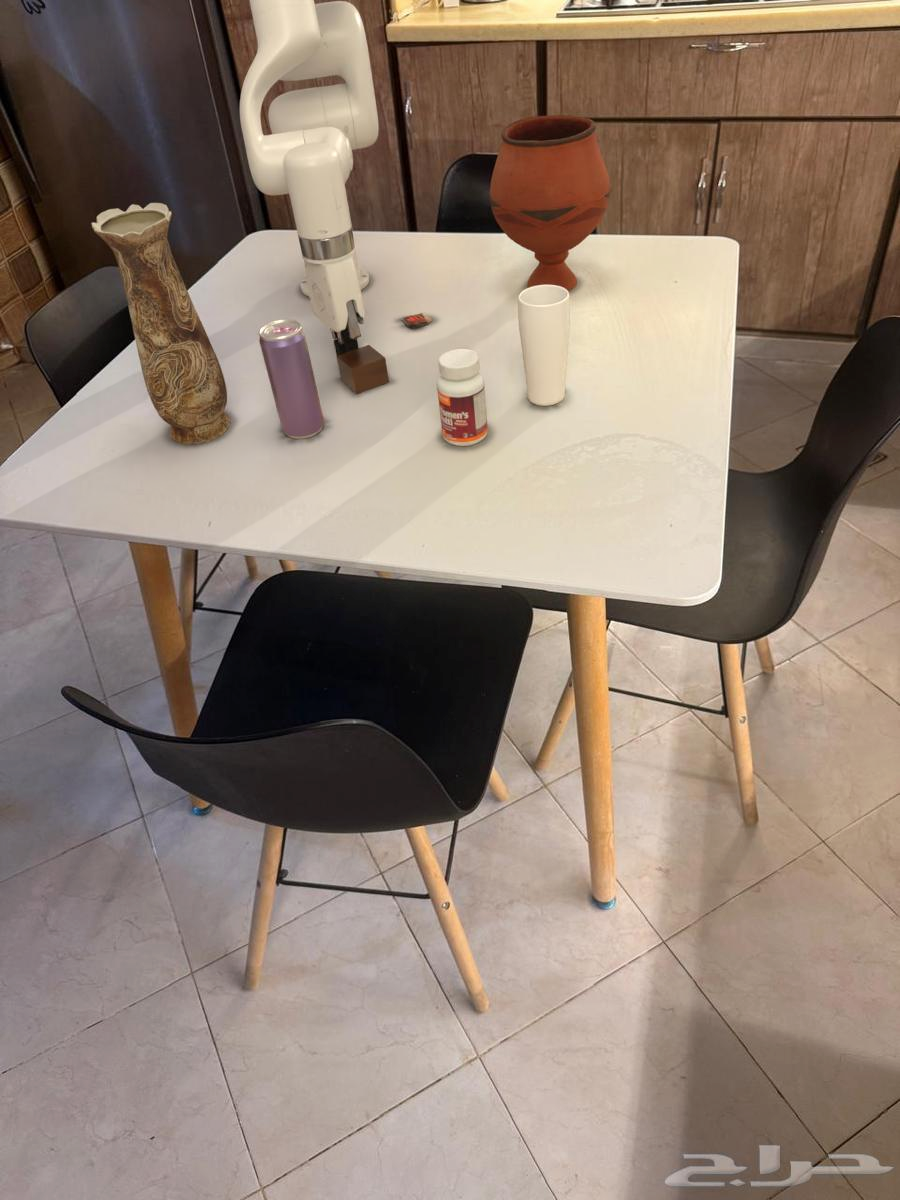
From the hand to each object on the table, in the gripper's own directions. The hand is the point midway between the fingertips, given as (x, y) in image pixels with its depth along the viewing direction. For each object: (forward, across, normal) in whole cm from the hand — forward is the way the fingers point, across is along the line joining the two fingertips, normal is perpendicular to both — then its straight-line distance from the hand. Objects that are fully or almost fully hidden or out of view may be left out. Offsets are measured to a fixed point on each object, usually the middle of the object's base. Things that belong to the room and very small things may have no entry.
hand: (349, 362), depth 134 cm
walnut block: (+1, +5, 0) cm, 5 cm away
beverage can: (+1, +12, -13) cm, 18 cm away
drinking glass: (+1, +27, +18) cm, 32 cm away
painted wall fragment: (+1, -7, +16) cm, 18 cm away
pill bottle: (+1, +28, +4) cm, 28 cm away
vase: (+1, +2, -25) cm, 25 cm away
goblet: (+1, -4, +41) cm, 41 cm away
